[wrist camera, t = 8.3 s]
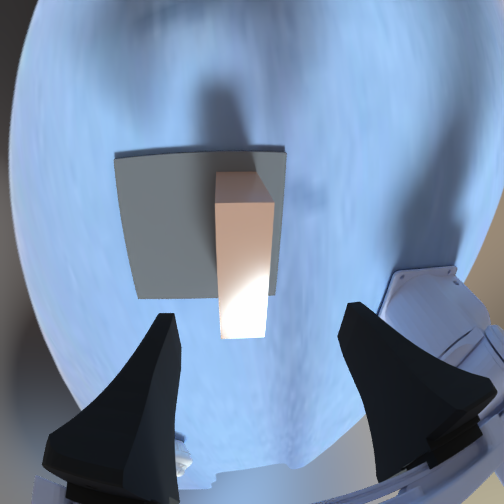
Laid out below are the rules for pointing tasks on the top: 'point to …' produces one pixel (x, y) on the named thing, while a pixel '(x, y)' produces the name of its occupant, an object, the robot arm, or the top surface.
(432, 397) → the robot arm
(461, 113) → the top surface
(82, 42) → the top surface
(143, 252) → the mat
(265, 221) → the block
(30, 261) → the top surface
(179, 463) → the muffin
